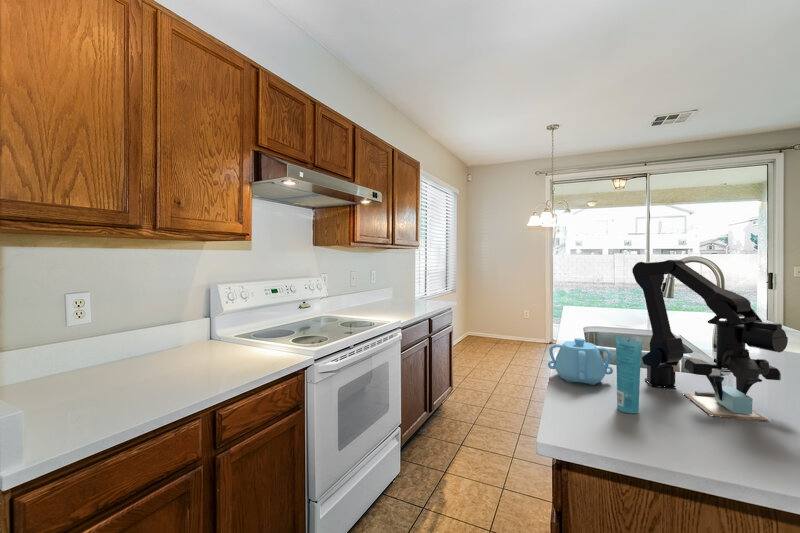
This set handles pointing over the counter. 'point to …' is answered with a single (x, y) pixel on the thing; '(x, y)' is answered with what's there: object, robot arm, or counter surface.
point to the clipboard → (719, 407)
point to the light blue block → (735, 400)
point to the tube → (628, 373)
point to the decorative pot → (580, 362)
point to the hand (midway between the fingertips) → (729, 400)
